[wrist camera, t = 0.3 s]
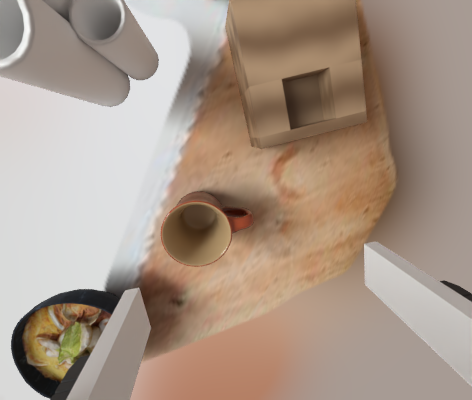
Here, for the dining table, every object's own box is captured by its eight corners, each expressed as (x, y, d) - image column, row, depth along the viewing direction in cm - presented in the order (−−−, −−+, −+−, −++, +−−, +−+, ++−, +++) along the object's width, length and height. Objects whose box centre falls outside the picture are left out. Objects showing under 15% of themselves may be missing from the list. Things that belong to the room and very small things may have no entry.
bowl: (43, 346, 44) (-4, 404, 34) (53, 258, 40) (4, 297, 31) (142, 358, 47) (124, 415, 37) (159, 277, 43) (145, 317, 33)
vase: (107, 117, 36) (-9, 94, 17) (67, 74, 34) (-115, -6, 15) (165, 63, 35) (113, -26, 16) (127, 16, 33) (15, -149, 14)
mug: (179, 240, 42) (169, 272, 32) (166, 190, 40) (152, 208, 30) (249, 227, 43) (261, 254, 33) (241, 176, 40) (251, 190, 30)
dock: (225, 26, 35) (229, -5, 27) (321, 4, 35) (352, -33, 28) (251, 146, 39) (262, 148, 31) (336, 124, 40) (367, 122, 32)
